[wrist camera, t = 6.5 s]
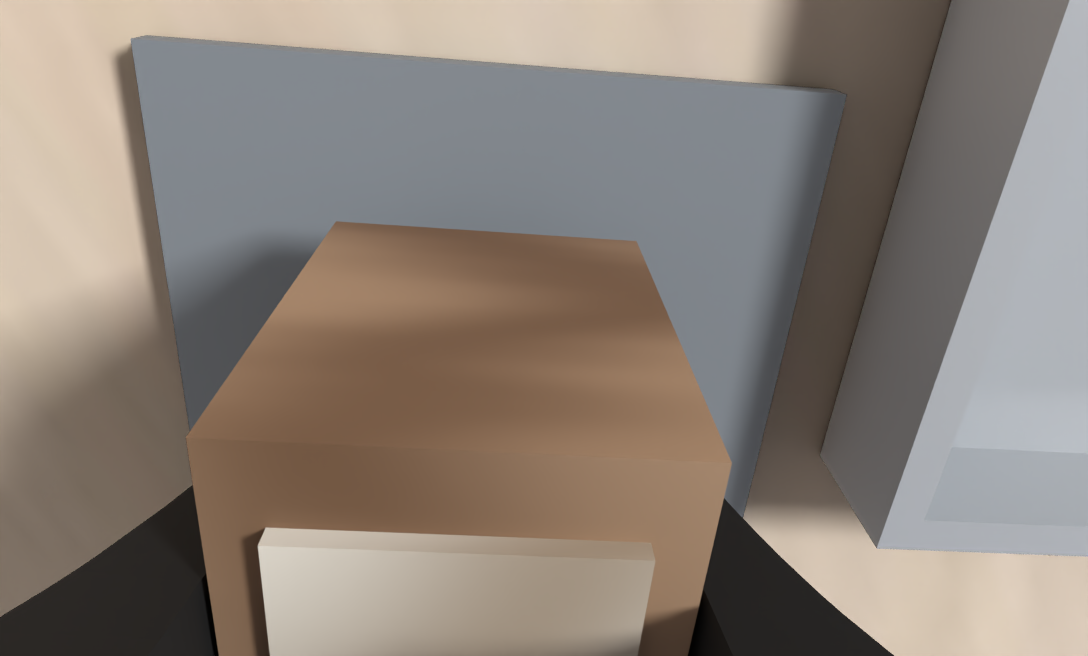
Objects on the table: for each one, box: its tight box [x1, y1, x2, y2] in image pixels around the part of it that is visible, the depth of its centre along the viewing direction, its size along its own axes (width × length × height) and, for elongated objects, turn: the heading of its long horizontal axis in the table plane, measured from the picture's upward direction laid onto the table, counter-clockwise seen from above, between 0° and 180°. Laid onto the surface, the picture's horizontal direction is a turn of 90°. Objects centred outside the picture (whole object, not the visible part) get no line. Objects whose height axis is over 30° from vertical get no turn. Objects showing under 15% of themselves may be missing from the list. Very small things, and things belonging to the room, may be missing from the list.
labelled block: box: [186, 221, 732, 656], centre depth 9 cm, size 4×6×5 cm, turn 175°
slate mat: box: [131, 35, 847, 518], centre depth 13 cm, size 10×10×1 cm
